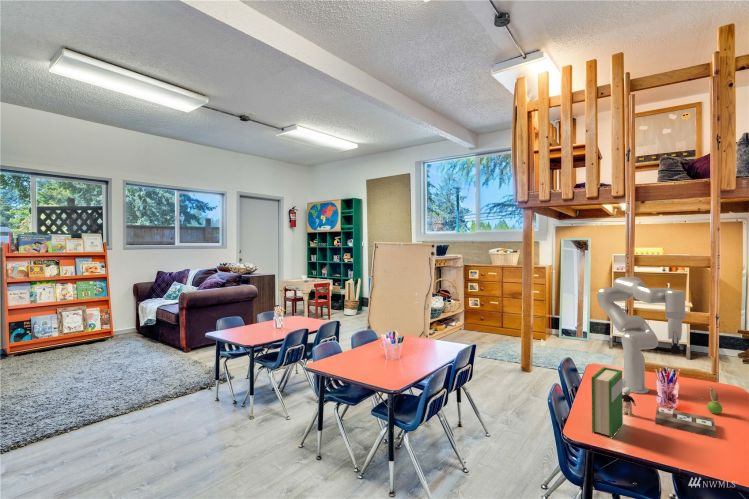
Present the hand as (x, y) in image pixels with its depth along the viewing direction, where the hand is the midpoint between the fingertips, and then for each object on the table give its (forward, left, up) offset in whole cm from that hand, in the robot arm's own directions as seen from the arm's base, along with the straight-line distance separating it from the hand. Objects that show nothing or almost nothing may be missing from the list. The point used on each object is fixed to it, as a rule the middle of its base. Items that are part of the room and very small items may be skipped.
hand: (675, 353), depth 182 cm
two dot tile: (-4, -17, -25) cm, 31 cm away
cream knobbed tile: (+9, -17, -27) cm, 33 cm away
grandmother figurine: (-18, -20, -27) cm, 38 cm away
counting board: (+3, -17, -27) cm, 32 cm away
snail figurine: (+14, +6, -27) cm, 31 cm away
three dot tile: (+3, -17, -27) cm, 32 cm away
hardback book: (-23, -41, -27) cm, 54 cm away
